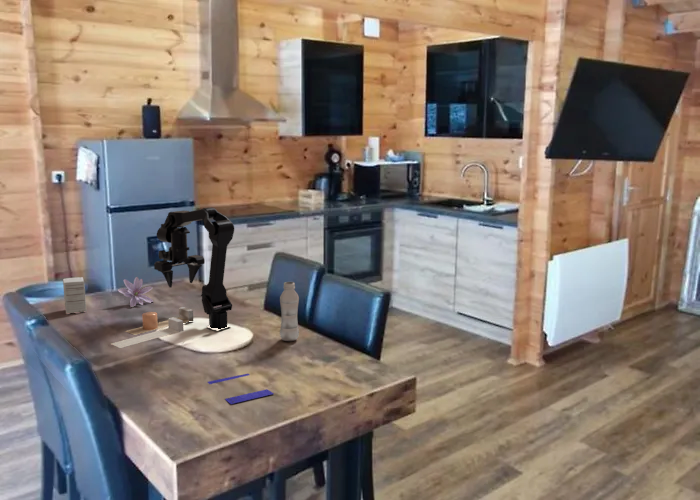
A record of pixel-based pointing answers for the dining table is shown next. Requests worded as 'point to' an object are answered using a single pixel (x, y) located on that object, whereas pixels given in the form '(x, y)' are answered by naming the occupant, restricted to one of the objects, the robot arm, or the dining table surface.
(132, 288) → the water lily
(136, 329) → the birch strip
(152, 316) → the rounded peach dome
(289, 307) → the plastic bottle
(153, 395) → the dining table surface
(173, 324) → the grey strip
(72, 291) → the miniature chest of drawers
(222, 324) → the robot arm
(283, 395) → the dining table surface
